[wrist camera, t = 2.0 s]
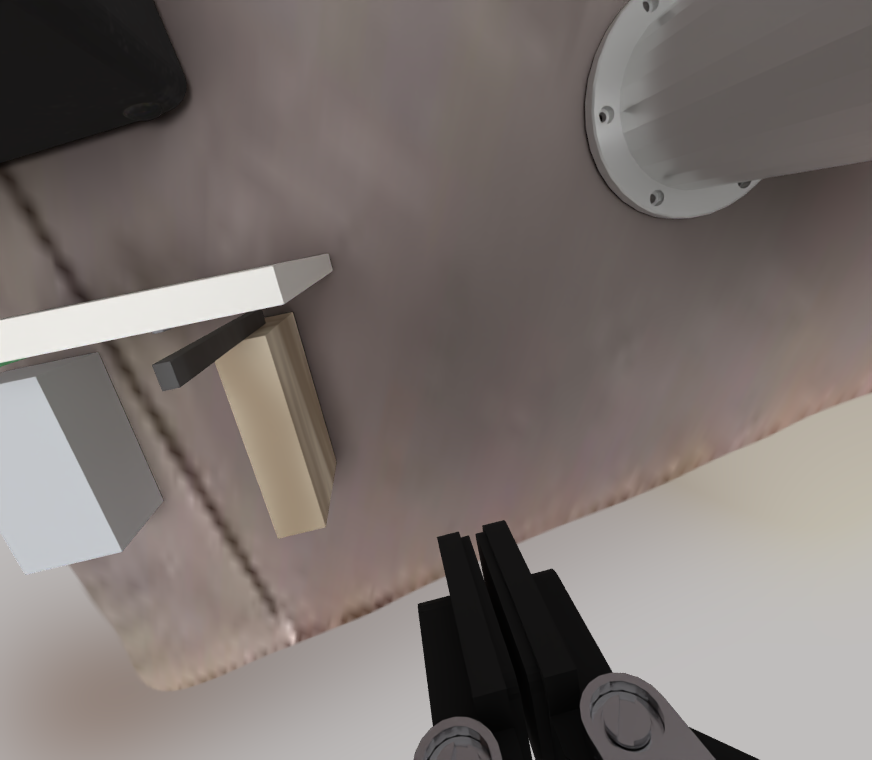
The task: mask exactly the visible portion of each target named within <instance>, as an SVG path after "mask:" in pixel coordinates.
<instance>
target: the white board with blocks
mask: <svg viewBox="0 0 872 760" xmlns="http://www.w3.org/2000/svg"><path fill="white" fill-rule="evenodd" d="M332 271H333V269H332V265H331V262H330V258H329V254H328V253H327V254H322V255H317V256H312V257H307V258H302V259H297V260H292V261H287V262H282V263H277V264H272V265H267V266H262V267H257V268H252V269H247V270H242V271H237V272H232V273H227V274H222V275H217V276H212V277H207V278H202V279H197V280H192V281H187V282H182V283H177V284H172V285H167V286H162V287H157V288H152V289H147V290H142V291H137V292H132V293H127V294H122V295H117V296H112V297H107V298H102V299H97V300H92V301H87V302H82V303H77V304H72V305H67V306H62V307H57V308H52V309H47V310H42V311H37V312H32V313H27V314H22V315H17V316H13V317H8V318H3V319H0V367H1V366H4V365H7V364H10V363H13V362H16V361H19V360H22V359H25V358H28V357H31V356H36V355H41V354H46V353H51V352H56V351H61V350H65V349H70V348H75V347H80V346H85V345H90V344H94V343H99V342H104V341H109V340H114V339H119V338H123V337H128V336H133V335H138V334H143V333H148V332H152V333H153V334H155V333H160V332H164V331H166V330H169V329H171V328H174V327H177V326H182V325H186V324H191V323H196V322H201V321H206V320H211V319H215V318H220V317H225V316H230V315H235V314H240V313H245V312H249V311H254V310H259V309H264V308H269V307H274V306H278V305H283V304H285V303H287V302H288V301H290V300H291V299H293V298H294V297H296V296H297V295H298V294H300V293H301V292H303V291H304V290H306V289H307V288H309V287H310V286H312V285H313V284H314V283H316V282H317V281H319V280H320V279H322V278H323V277H325V276H326V275H328V274H329V273H330V272H332ZM163 501H164V500H163V498H162V496H161V493H160V491H159V489H158V487H157V484H156V482H155V480H154V478H153V475H152V473H151V471H150V469H149V466H148V464H147V462H146V459H145V457H144V455H143V453H142V450H141V448H140V446H139V444H138V441H137V439H136V437H135V434H134V432H133V430H132V428H131V425H130V423H129V421H128V419H127V416H126V414H125V412H124V410H123V407H122V405H121V403H120V400H119V398H118V396H117V394H116V391H115V389H114V387H113V385H112V382H111V380H110V378H109V376H108V373H107V371H106V369H105V366H104V364H103V362H102V360H101V357H100V355H99V353H98V352H95V353H91V354H86V355H81V356H76V357H71V358H66V359H62V360H57V361H52V362H47V363H42V364H38V365H33V366H28V367H23V368H18V369H14V370H9V371H5V372H2V373H0V533H1V535H2V536H3V538H4V540H5V541H6V543H7V545H8V547H9V548H10V550H11V552H12V553H13V555H14V557H15V558H16V560H17V562H18V564H19V565H20V567H21V569H22V570H23V572H24V574H25V575H27V574H31V573H35V572H39V571H44V570H48V569H52V568H56V567H60V566H65V565H69V564H73V563H77V562H81V561H86V560H90V559H94V558H98V557H102V556H106V555H111V554H115V553H119V552H122V551H123V550H124V549H125V548H126V547H127V545H128V544H129V543H130V542H131V540H132V539H133V538H134V537H135V535H136V534H137V533H138V532H139V531H140V529H141V528H142V527H143V526H144V524H145V523H146V522H147V521H148V519H149V518H150V517H151V516H152V515H153V513H154V512H155V511H156V510H157V508H158V507H159V506H160V505H161V503H162V502H163Z"/></svg>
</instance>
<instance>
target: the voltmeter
mask: <svg viewBox="0 0 872 760" xmlns="http://www.w3.org/2000/svg"><path fill="white" fill-rule="evenodd" d="M185 92H186V80H185V76H184V74H183V71H182V69H181V67H180V64H179V62H178V60H177V57H176V55H175V52H174V50H173V48H172V45H171V43H170V40H169V38H168V36H167V33H166V31H165V29H164V26H163V24H162V21H161V19H160V17H159V14H158V12H157V10H156V7H155V5H154V2H153V0H0V163H1V162H5V161H8V160H11V159H15V158H18V157H21V156H24V155H28V154H31V153H34V152H38V151H41V150H44V149H47V148H51V147H54V146H57V145H61V144H64V143H67V142H70V141H74V140H77V139H80V138H84V137H87V136H90V135H93V134H97V133H100V132H103V131H107V130H110V129H113V128H116V127H120V126H123V125H126V124H130V123H133V122H136V121H147V120H152V119H154V118H156V117H158V116H159V115H160V114H163V113H165V112H168V111H170V110H172V109H173V108H175V107H177V106H178V105H179V104H180V102H181V101H182V100H183V98H184V95H185Z"/></svg>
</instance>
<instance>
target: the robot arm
mask: <svg viewBox="0 0 872 760" xmlns="http://www.w3.org/2000/svg"><path fill="white" fill-rule="evenodd" d="M599 115H601V116H602V122H601V121H600V119H599ZM585 119H586V131H587V136H588V141H589V146H590V150H591V153H592V156H593V158H594V161H595V163H596V166H597V168H598V170H599V172H600V174H601V175H602V177H603V178H604V180H605V181H606V183H607V184H608V186H609V187H610V188H611V189H612V190H613V192H614V193H615V194H616V195H617V196H618V197H619V198H620V199H621V200H622V201H624V202H625V203H627V204H628V205H630V206H631V207H633V208H634V209H636V210H638V211H640V212H643V213H645V214H648V215H651V216H654V217H659V218H667V219H682V218H693V217H698V216H703V215H708V214H711V213H713V212H716V211H718V210H721V209H723V208H725V207H728V206H729V205H731V204H732V203H734V202H735V201H737V200H738V199H740V198H741V197H743V196H745V195H746V194H747V193H748V192H749V191H750V190H751V189H752V188H753V187H754V186H756V185H757V184H758V183H759V182H760V181H761V180H762V179H764V178H770V177H776V176H782V175H788V174H794V173H800V172H806V171H812V170H818V169H824V168H830V167H836V166H842V165H848V164H854V163H861V162H867V161H872V0H630V1H629V2H628V3H627V4H626V5H625V6H624V7H623V8H622V9H621V10H620V12H619V13H618V15H617V16H616V17H615V19H614V20H613V22H612V23H611V25H610V26H609V28H608V29H607V31H606V32H605V35H604V37H603V39H602V41H601V43H600V45H599V47H598V49H597V52H596V54H595V57H594V60H593V64H592V67H591V71H590V74H589V77H588V84H587V92H586V99H585ZM650 196H651V202H650ZM482 527H483V532H481V533H477V534H476V540H477V545H478V551H479V556H480V561H481V566H482V571H483V576H484V579H483V576H482V573H481V570H480V567H479V564H478V561H477V558H476V555H475V552H474V549H473V546H472V543H471V540H470V537H469V536H465V537H460V534H459V532H455V533H451V534H447V535H443V536H439V537H437V539H438V544H439V548H440V553H441V557H442V561H443V566H444V570H445V575H446V579H447V584H448V588H449V592H450V596H446V597H442V598H439V599H435V600H431V601H427V602H423V603H419V604H418V613H419V621H420V628H421V636H422V644H423V652H424V660H425V668H426V675H427V683H428V691H429V699H430V705H431V706H430V707H431V714H432V722H433V727H432V728H431V729H430V730H429V731H428V732H427V733H426V735H425V736H424V737H423V738H422V739H421V741H420V743H419V746H418V748H417V750H416V752H415V755H414V760H532V756H531V751H530V744H531V747H532V750H533V753H534V757H535V760H759V759H757V758H755V757H753V756H751V755H748V754H746V753H744V752H742V751H740V750H738V749H735V748H733V747H731V746H729V745H727V744H725V743H723V742H720V741H718V740H716V739H714V738H712V737H710V736H707V735H705V734H703V733H701V732H699V731H696V730H694V729H692V728H690V727H688V726H687V724H686V723H685V722H684V721H683V720H682V718H681V717H680V716H679V715H678V714H677V712H676V711H675V710H674V709H673V707H672V706H671V705H670V704H669V703H668V702H667V700H666V699H665V698H664V697H663V696H662V695H661V694H660V693H659V692H658V691H657V690H656V689H655V688H654V687H653V686H652V685H651V684H649V683H647V682H645V681H644V680H642V679H640V678H638V677H635V676H632V675H629V674H626V673H613V672H612V671H611V669H610V667H609V665H608V663H607V662H606V660H605V658H604V656H603V655H602V653H601V651H600V649H599V647H598V646H597V644H596V642H595V640H594V639H593V637H592V635H591V633H590V632H589V630H588V628H587V626H586V625H585V623H584V621H583V619H582V617H581V616H580V614H579V612H578V610H577V609H576V607H575V605H574V603H573V601H572V600H571V598H570V596H569V594H568V593H567V591H566V590H565V587H564V585H563V584H562V582H561V580H560V578H559V577H558V575H557V573H556V572H555V571H554V570H553V569H549V570H546V571H542V572H538V573H534V574H531V573H530V571H529V569H528V567H527V565H526V563H525V561H524V559H523V556H522V554H521V552H520V550H519V548H518V546H517V544H516V542H515V540H514V538H513V536H512V534H511V532H510V530H509V528H508V525H507V523H506V522H505V521H504V520H503V521H499V522H495V523H491V524H487V525H483V526H482ZM528 738H529V739H528ZM529 741H530V744H529Z"/></svg>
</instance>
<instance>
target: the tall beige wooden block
mask: <svg viewBox="0 0 872 760" xmlns="http://www.w3.org/2000/svg"><path fill="white" fill-rule="evenodd" d="M213 362H215V364H216V367H217V370H218V373H219V375H220V378H221V381H222V384H223V387H224V389H225V392H226V395H227V398H228V400H229V403H230V406H231V409H232V412H233V414H234V417H235V420H236V423H237V426H238V428H239V431H240V434H241V437H242V439H243V442H244V445H245V448H246V451H247V453H248V456H249V459H250V462H251V465H252V467H253V470H254V473H255V476H256V478H257V481H258V484H259V487H260V490H261V492H262V495H263V498H264V501H265V504H266V506H267V509H268V512H269V515H270V517H271V520H272V523H273V526H274V529H275V531H276V534H277V537H278V539H279V538H283V537H287V536H291V535H295V534H300V533H304V532H308V531H312V530H316V529H320V528H324V527H326V523H327V517H328V511H329V505H330V499H331V493H332V487H333V481H334V475H335V469H336V463H337V462H336V459H335V455H334V452H333V449H332V445H331V442H330V438H329V435H328V431H327V428H326V425H325V421H324V418H323V414H322V411H321V407H320V404H319V400H318V397H317V394H316V390H315V387H314V383H313V380H312V376H311V373H310V370H309V366H308V363H307V359H306V356H305V352H304V349H303V346H302V342H301V339H300V335H299V332H298V328H297V325H296V322H295V318H294V315H293V312H290V313H286V314H281V315H276V316H271V317H266V318H264V316H263V313H262V309H259V310H254V311H249V312H247V313H246V314H244V315H242V316H240V317H238V318H237V319H235V320H233V321H231V322H229V323H228V324H226V325H224V326H222V327H220V328H218V329H217V330H215V331H213V332H211V333H209V334H208V335H206V336H204V337H202V338H200V339H199V340H197V341H195V342H193V343H191V344H189V345H188V346H186V347H184V348H182V349H180V350H179V351H177V352H175V353H173V354H171V355H169V356H168V357H166V358H164V359H162V360H160V361H159V362H157V363H155V364H153V365H152V367H153V369H154V371H155V374H156V376H157V379H158V381H159V384H160V386H161V389H162V391H166V390H170V389H175V388H180V387H181V386H183V385H184V384H185V383H187V382H188V381H189V380H191V379H192V378H193V377H195V376H196V375H197V374H199V373H200V372H201V371H203V370H204V369H205V368H207V367H208V366H209V365H211V364H212V363H213Z"/></svg>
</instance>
